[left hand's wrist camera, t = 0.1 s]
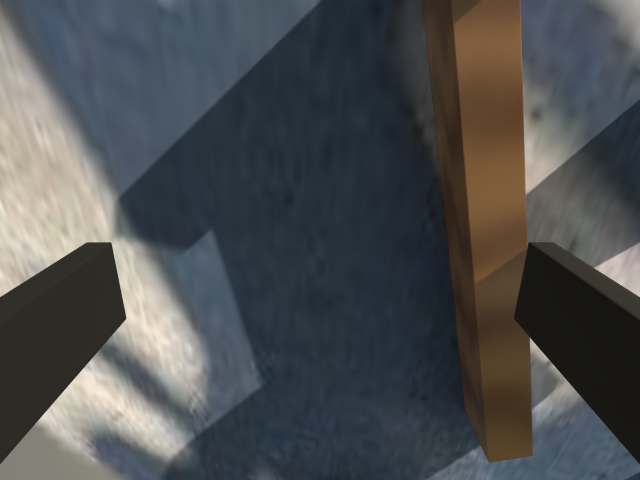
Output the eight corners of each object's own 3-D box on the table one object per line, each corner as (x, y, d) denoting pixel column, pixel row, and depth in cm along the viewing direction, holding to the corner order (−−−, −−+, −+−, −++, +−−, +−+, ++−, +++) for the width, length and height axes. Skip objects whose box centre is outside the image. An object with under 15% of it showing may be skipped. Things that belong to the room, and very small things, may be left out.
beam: (413, -81, 32) (440, -131, 25) (472, -96, 32) (516, -151, 25) (464, 410, 50) (488, 462, 43) (502, 404, 50) (533, 456, 43)
